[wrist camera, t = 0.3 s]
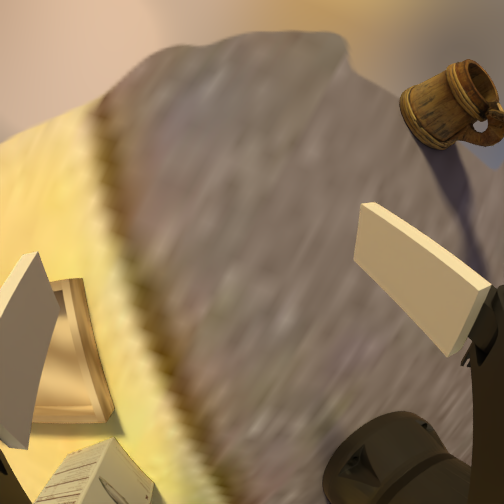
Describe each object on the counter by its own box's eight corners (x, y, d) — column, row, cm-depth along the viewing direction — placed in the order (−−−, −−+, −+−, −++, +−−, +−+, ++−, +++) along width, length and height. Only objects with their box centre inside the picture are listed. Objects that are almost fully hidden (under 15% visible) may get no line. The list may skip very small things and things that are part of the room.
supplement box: (156, 483, 25) (144, 566, 12) (106, 497, 23) (81, 570, 11) (114, 433, 24) (77, 511, 12) (66, 451, 23) (20, 517, 11)
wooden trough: (114, 408, 25) (106, 422, 21) (17, 409, 22) (3, 420, 19) (82, 278, 25) (68, 278, 22) (-13, 295, 23) (-31, 297, 20)
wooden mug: (423, 185, 32) (546, 138, 14) (390, 85, 32) (478, 6, 14) (466, 182, 33) (571, 146, 15) (436, 92, 33) (519, 33, 16)
